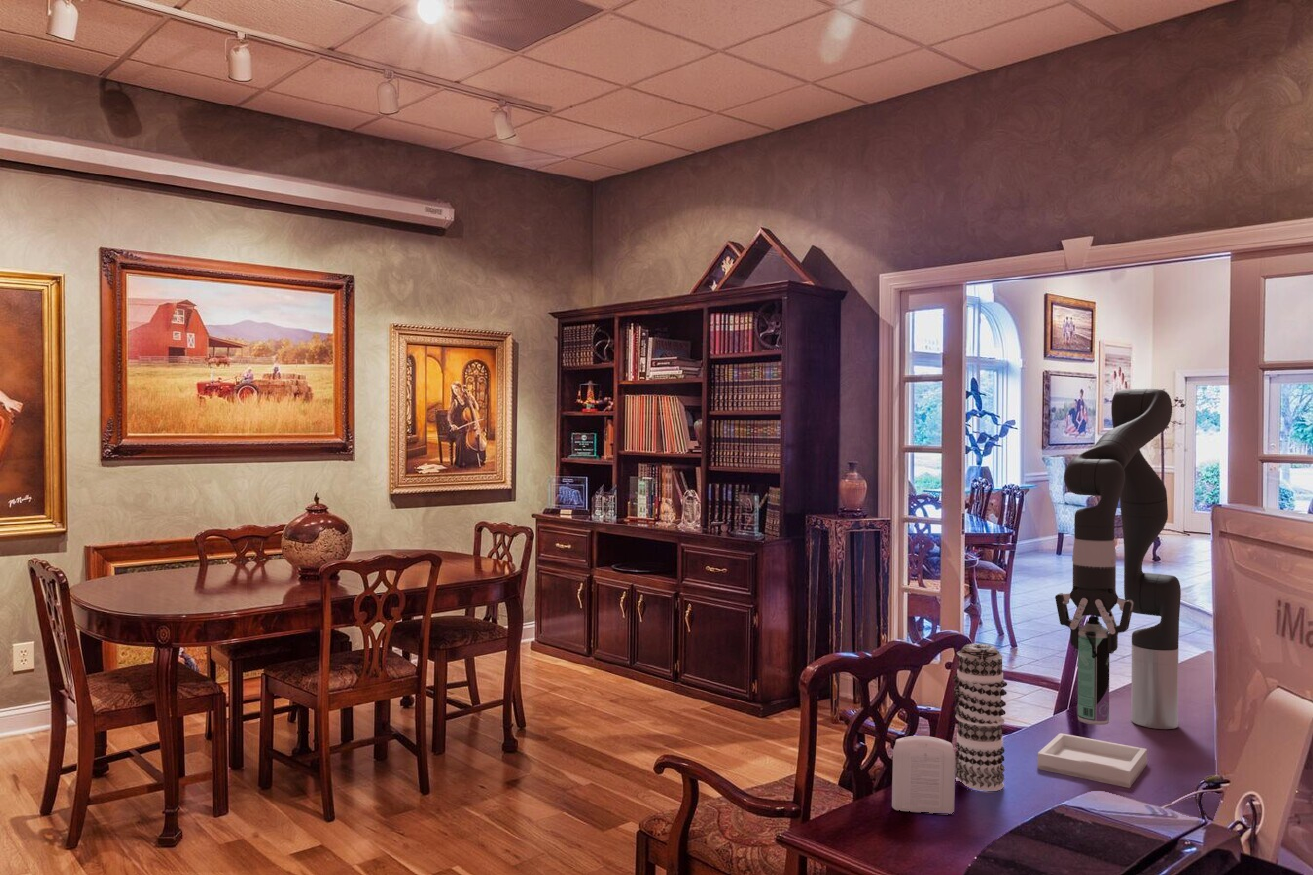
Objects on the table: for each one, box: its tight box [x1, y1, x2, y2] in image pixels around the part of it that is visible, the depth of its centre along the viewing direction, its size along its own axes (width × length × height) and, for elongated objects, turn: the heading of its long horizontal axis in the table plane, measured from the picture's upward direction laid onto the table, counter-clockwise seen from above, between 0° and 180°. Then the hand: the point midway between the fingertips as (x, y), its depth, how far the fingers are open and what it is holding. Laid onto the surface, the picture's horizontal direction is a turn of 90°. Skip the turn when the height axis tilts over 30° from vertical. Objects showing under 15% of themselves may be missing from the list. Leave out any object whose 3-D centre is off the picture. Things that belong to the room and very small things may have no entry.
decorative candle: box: [953, 643, 1008, 791], centre depth 173 cm, size 9×9×25 cm
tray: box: [1036, 732, 1148, 789], centre depth 182 cm, size 16×16×3 cm
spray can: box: [1077, 615, 1110, 726], centre depth 182 cm, size 6×6×20 cm
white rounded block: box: [891, 735, 956, 815], centre depth 160 cm, size 10×4×12 cm, turn 81°
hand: (1093, 650), depth 182 cm, fingers closed on spray can, 5 cm apart
